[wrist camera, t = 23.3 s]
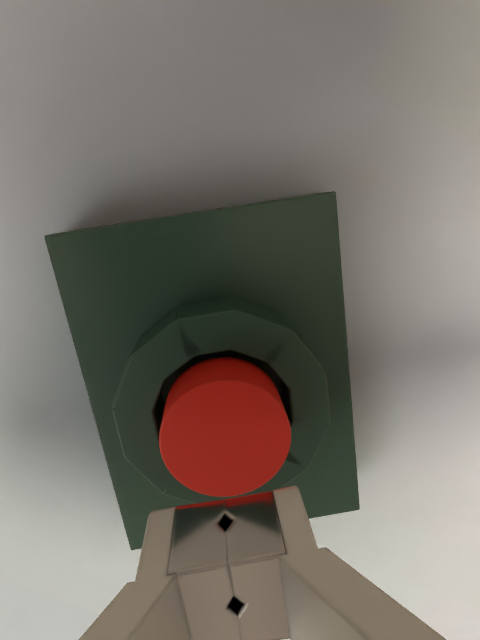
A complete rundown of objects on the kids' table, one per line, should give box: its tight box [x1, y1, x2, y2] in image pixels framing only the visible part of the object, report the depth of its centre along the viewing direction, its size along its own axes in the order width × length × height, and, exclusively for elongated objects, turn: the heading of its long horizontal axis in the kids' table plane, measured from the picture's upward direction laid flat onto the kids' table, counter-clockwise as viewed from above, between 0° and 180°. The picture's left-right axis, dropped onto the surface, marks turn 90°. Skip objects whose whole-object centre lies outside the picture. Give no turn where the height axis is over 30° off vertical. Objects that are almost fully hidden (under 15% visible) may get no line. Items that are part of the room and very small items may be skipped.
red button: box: [159, 357, 291, 497], centre depth 12 cm, size 4×4×2 cm
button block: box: [45, 191, 360, 550], centre depth 14 cm, size 12×9×4 cm
